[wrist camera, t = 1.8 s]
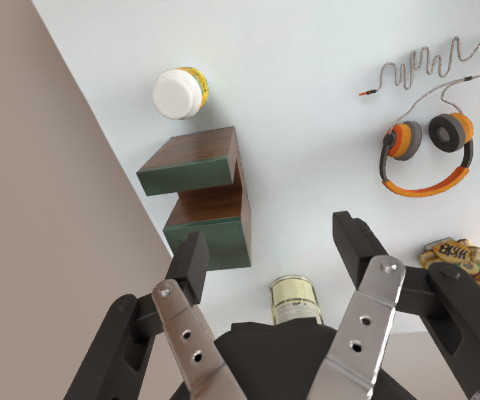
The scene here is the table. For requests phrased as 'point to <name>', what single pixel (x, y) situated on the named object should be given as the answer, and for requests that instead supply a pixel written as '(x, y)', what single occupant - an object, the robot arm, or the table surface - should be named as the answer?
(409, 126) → the headphones
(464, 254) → the decorative figurine
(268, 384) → the robot arm
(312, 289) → the coffee can
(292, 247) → the table surface
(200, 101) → the supplement bottle
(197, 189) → the notched wooden block
